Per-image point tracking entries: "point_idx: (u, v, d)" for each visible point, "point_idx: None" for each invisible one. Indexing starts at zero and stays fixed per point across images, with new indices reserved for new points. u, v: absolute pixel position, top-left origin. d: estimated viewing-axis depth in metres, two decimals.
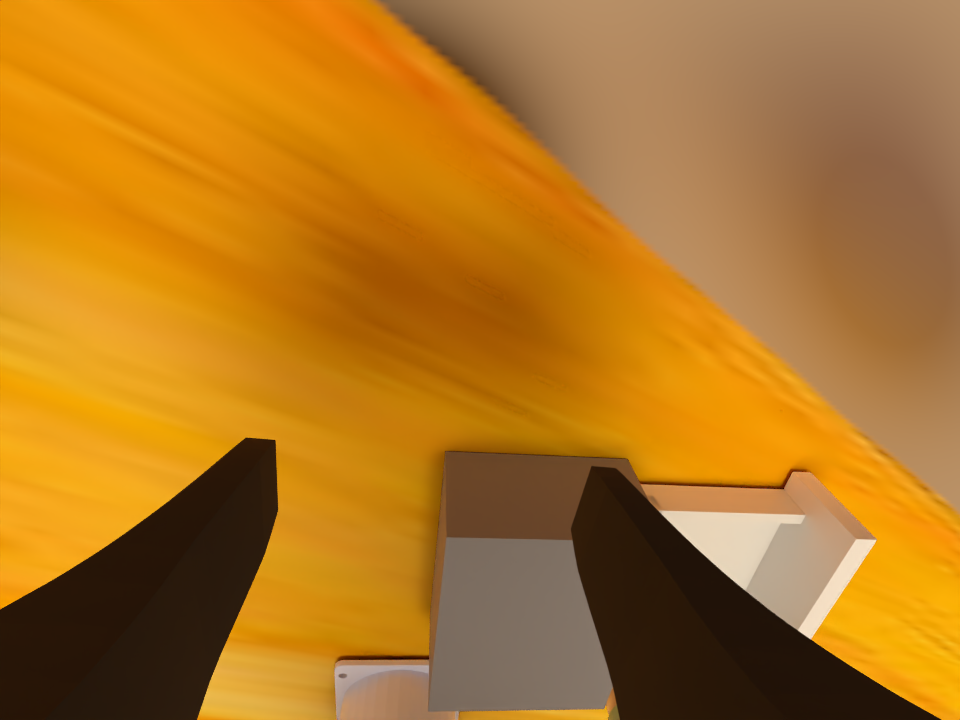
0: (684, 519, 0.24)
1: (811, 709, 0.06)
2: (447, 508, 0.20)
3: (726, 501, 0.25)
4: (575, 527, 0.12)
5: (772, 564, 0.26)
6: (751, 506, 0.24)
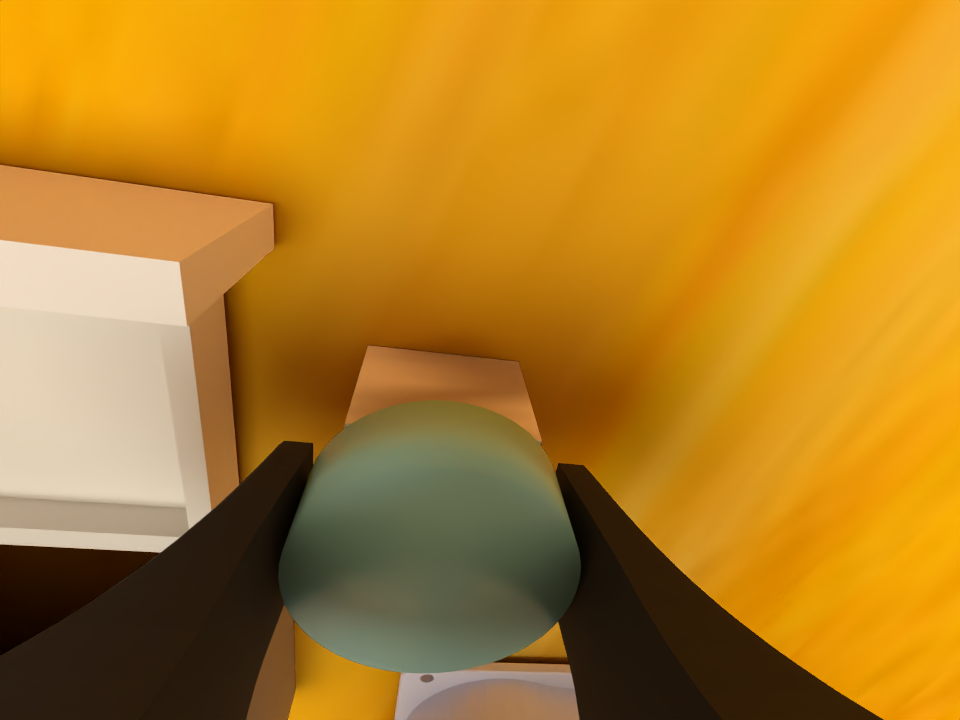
0: None
1: (749, 708, 0.06)
2: None
3: None
4: None
5: None
6: None
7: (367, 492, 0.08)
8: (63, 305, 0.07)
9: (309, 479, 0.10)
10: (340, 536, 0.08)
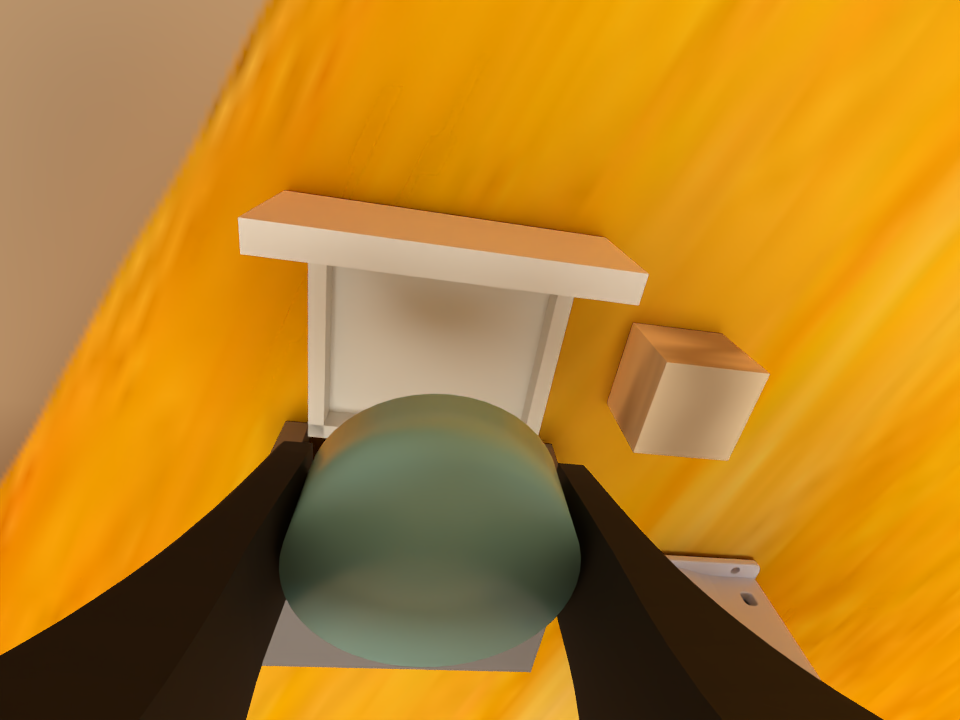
0: (322, 398, 0.19)
1: (748, 708, 0.06)
2: None
3: None
4: None
5: None
6: None
7: (367, 484, 0.08)
8: (589, 294, 0.15)
9: (309, 473, 0.10)
10: (341, 528, 0.08)
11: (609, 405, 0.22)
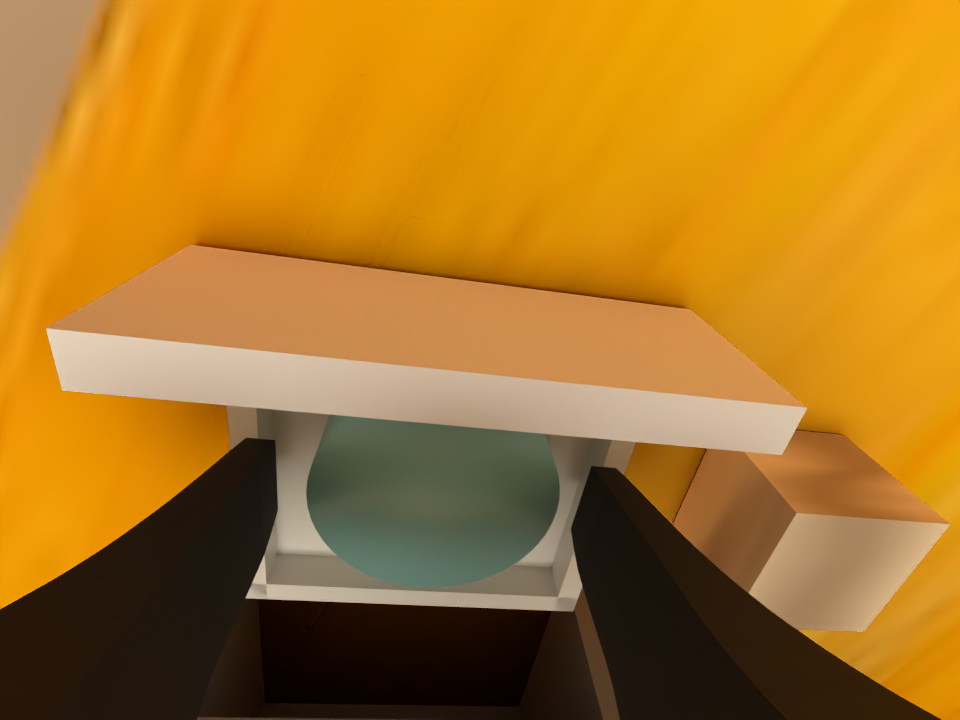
0: None
1: (811, 709, 0.06)
2: None
3: None
4: (575, 527, 0.12)
5: None
6: None
7: None
8: (700, 442, 0.08)
9: (331, 416, 0.11)
10: (358, 455, 0.10)
11: (677, 529, 0.16)
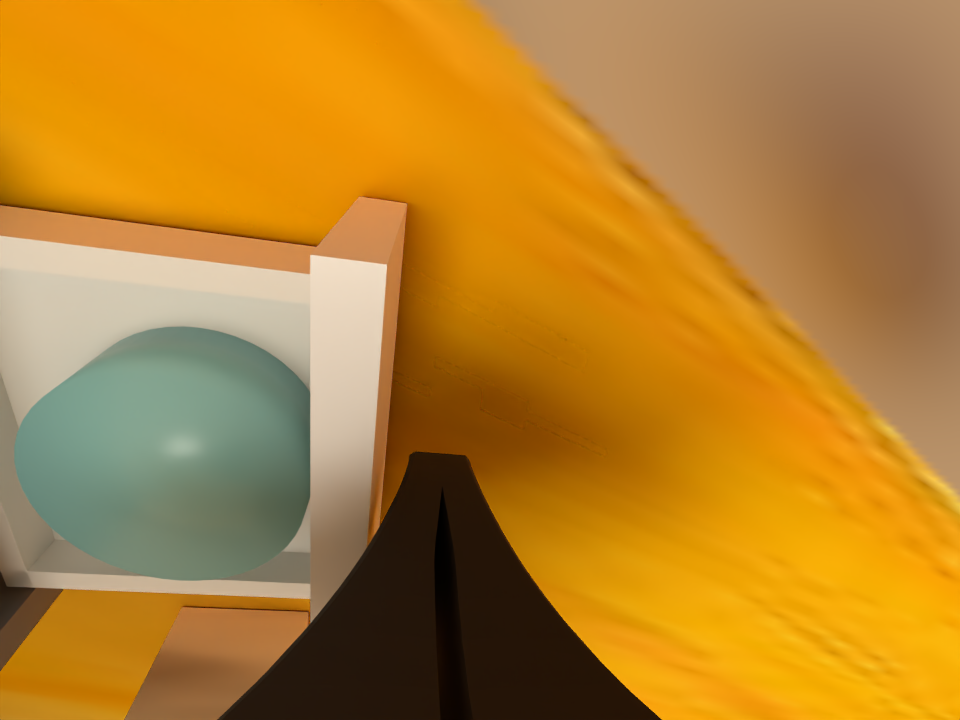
0: None
1: (511, 705, 0.05)
2: None
3: (150, 240, 0.10)
4: None
5: None
6: (208, 253, 0.09)
7: (276, 449, 0.10)
8: None
9: (243, 357, 0.10)
10: (221, 426, 0.10)
11: (180, 615, 0.16)
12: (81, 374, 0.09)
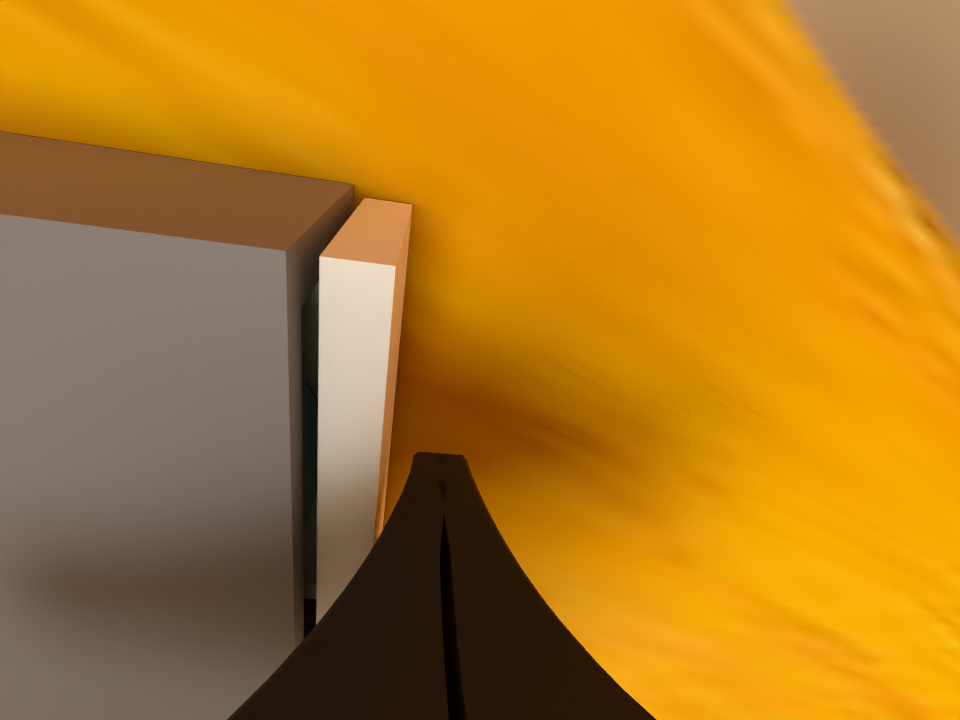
0: None
1: (506, 705, 0.05)
2: None
3: None
4: None
5: None
6: None
7: None
8: None
9: None
10: None
11: None
12: None
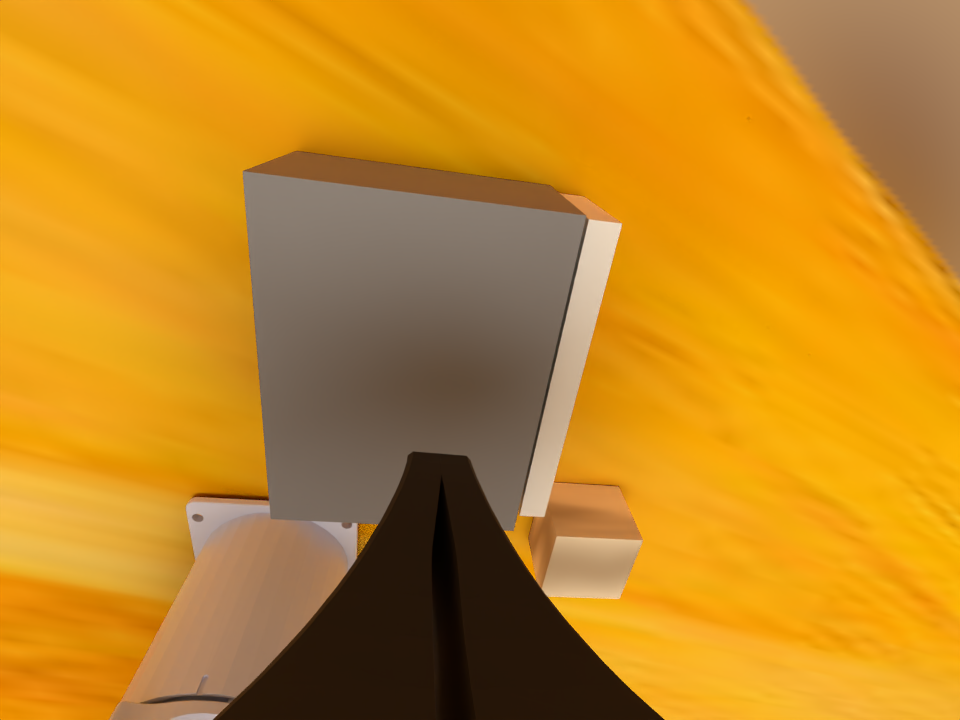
0: None
1: (514, 705, 0.05)
2: (264, 164, 0.14)
3: None
4: None
5: None
6: None
7: None
8: (530, 484, 0.19)
9: None
10: None
11: None
12: None
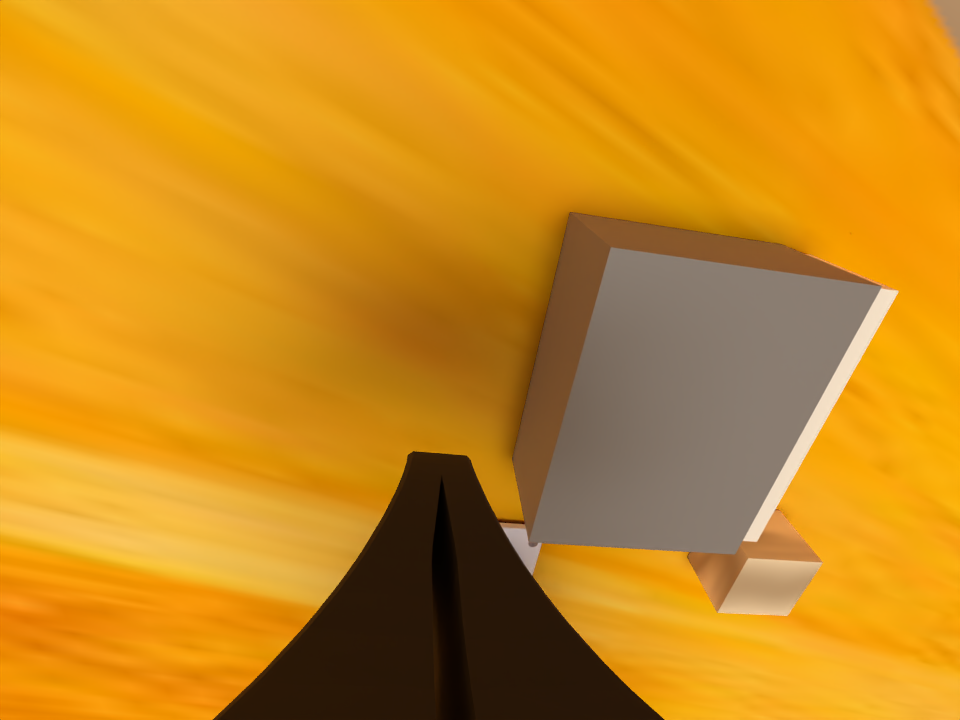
0: None
1: (515, 705, 0.05)
2: (598, 235, 0.16)
3: None
4: None
5: None
6: None
7: None
8: None
9: None
10: None
11: None
12: None
